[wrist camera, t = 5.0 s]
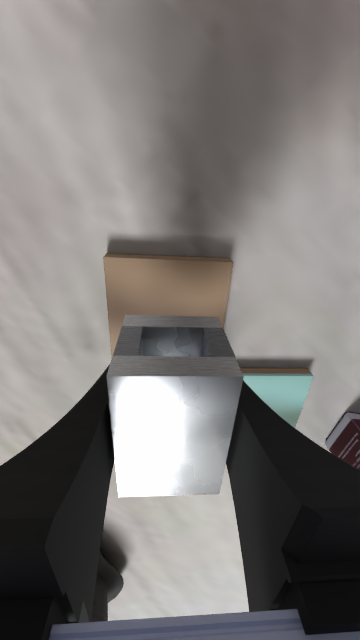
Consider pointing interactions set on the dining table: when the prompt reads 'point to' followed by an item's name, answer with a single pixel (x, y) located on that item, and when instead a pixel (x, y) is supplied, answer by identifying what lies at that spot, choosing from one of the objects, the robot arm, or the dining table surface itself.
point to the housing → (172, 404)
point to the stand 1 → (164, 287)
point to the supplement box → (346, 440)
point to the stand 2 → (280, 389)
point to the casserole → (105, 589)
